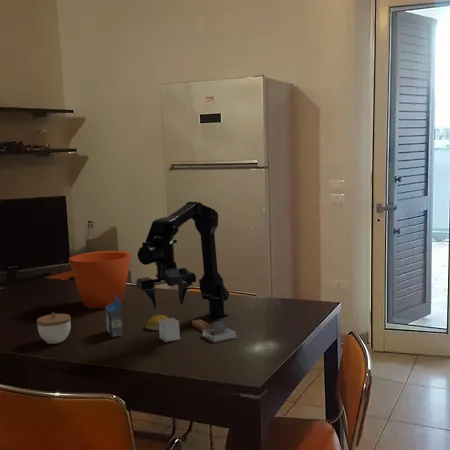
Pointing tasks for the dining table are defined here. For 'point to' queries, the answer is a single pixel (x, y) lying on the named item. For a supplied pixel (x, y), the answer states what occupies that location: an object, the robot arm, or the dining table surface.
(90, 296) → the flowerpot
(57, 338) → the lidded jar
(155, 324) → the bread roll
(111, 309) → the grey and blue box
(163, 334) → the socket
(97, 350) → the dining table surface
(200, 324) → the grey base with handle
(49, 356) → the dining table surface
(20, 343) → the dining table surface
